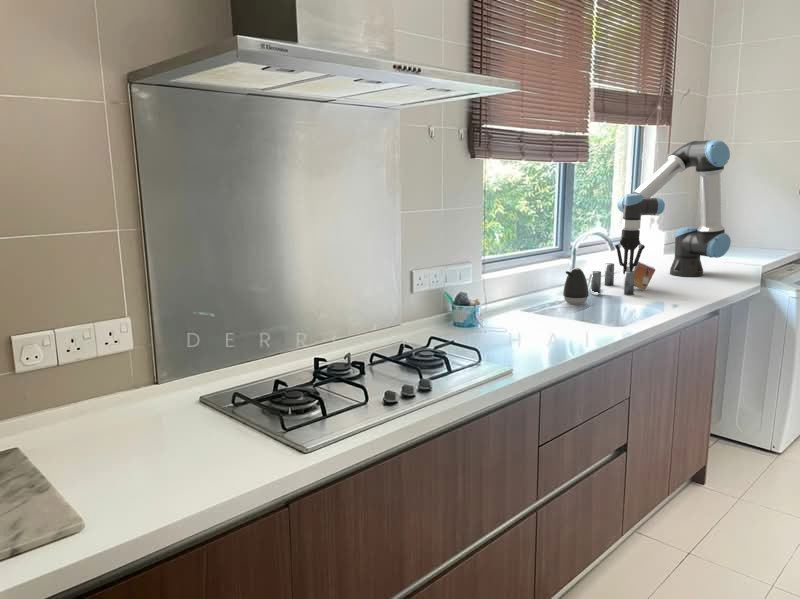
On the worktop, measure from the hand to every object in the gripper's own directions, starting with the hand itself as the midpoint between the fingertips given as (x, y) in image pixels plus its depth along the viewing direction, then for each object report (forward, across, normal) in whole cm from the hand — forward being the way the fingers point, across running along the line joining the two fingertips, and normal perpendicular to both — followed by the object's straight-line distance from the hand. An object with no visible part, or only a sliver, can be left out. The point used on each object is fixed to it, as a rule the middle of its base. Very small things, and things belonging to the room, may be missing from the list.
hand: (626, 281), depth 288 cm
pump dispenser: (+5, +24, +29) cm, 38 cm away
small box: (+2, -4, 0) cm, 5 cm away
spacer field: (+4, +5, 0) cm, 7 cm away
